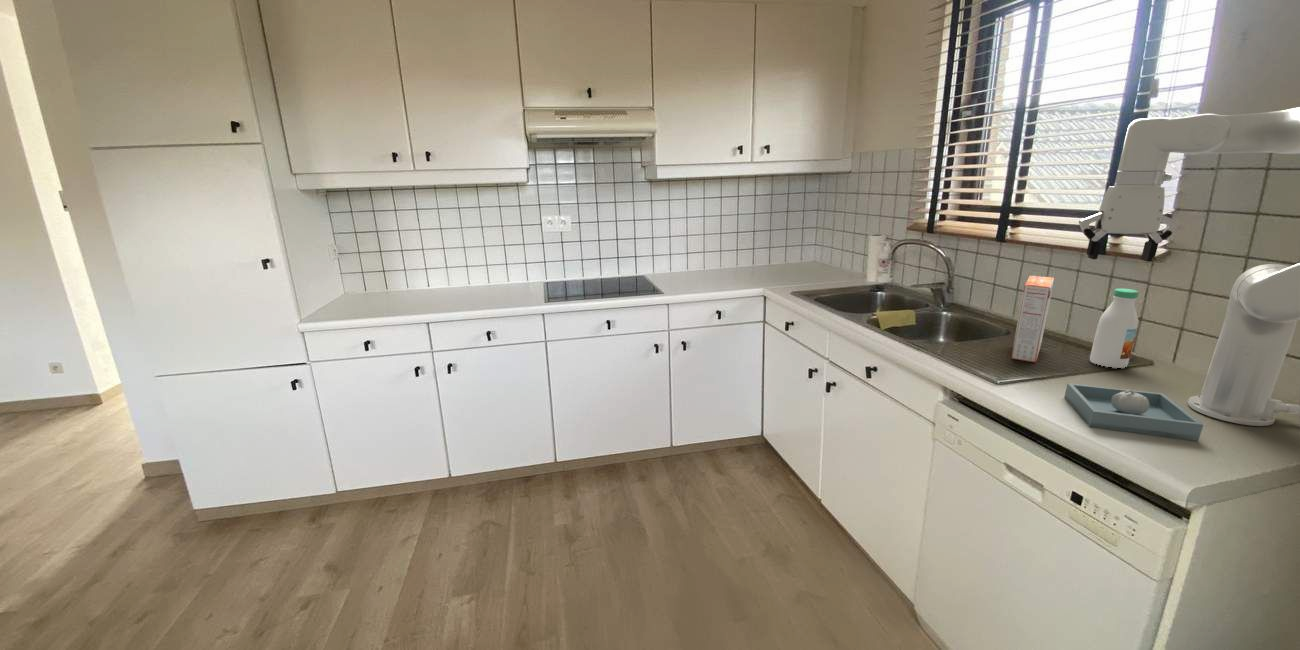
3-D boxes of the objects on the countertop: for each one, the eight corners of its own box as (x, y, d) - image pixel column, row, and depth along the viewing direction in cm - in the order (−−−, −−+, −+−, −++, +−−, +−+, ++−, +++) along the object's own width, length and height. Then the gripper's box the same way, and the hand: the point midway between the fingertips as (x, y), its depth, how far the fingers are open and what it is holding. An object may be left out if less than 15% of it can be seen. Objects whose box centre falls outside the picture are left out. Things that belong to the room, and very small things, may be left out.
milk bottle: (1106, 369, 135) (1126, 294, 130) (1081, 359, 143) (1098, 286, 137) (1135, 368, 136) (1156, 293, 130) (1108, 358, 143) (1127, 286, 137)
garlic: (1115, 416, 109) (1121, 393, 108) (1105, 405, 114) (1111, 383, 112) (1152, 420, 107) (1159, 397, 105) (1140, 409, 112) (1146, 387, 110)
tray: (1158, 408, 114) (1163, 393, 113) (1198, 441, 101) (1203, 424, 100) (1064, 397, 120) (1067, 383, 119) (1089, 427, 107) (1093, 411, 106)
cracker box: (1015, 345, 154) (1029, 274, 148) (1040, 349, 151) (1056, 277, 144) (1008, 358, 144) (1023, 283, 138) (1035, 363, 140) (1052, 286, 134)
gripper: (1180, 179, 113) (1159, 258, 118) (1082, 179, 119) (1066, 255, 124) (1201, 180, 106) (1177, 264, 111) (1095, 180, 112) (1077, 260, 117)
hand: (1118, 259), depth 118 cm, fingers open, 9 cm apart
